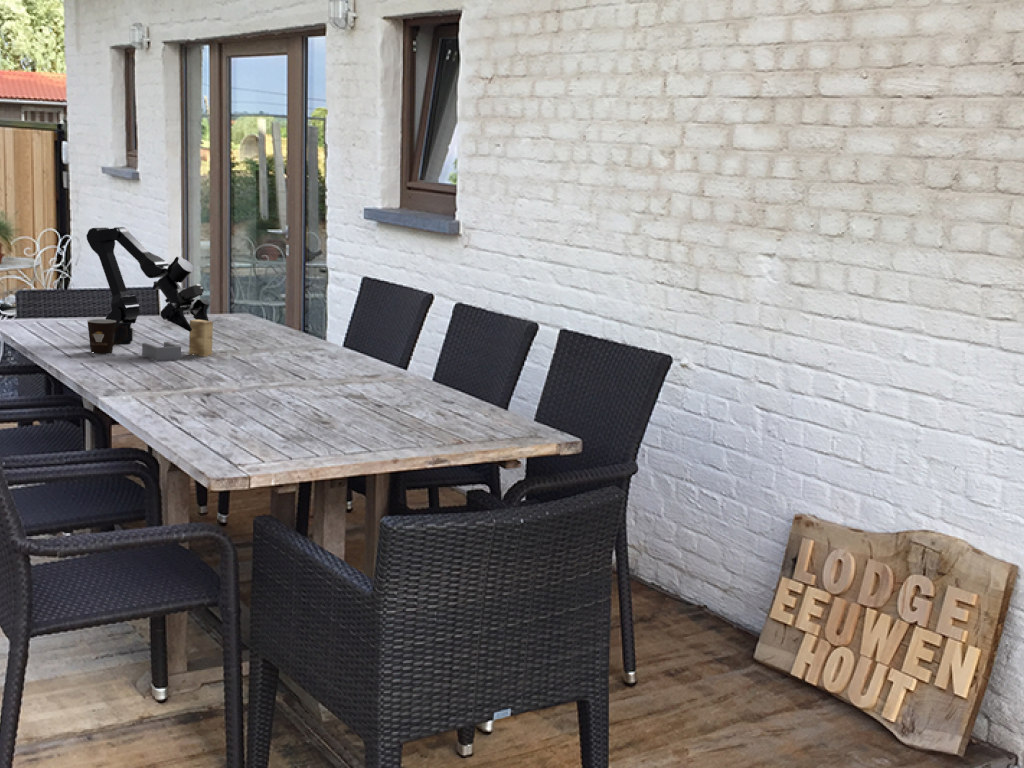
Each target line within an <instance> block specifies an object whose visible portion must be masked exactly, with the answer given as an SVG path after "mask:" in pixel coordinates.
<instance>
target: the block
mask: <svg viewBox="0 0 1024 768" xmlns="http://www.w3.org/2000/svg"><path fill="white" fill-rule="evenodd" d="M213 322H214V321H212V320H209V321H206V320H199V319H197V320H196V319H191V320H189V325H190V326H191V328H192V330H191V331H190V332H189V340H188V341H189V343H188V345H189V346H188V349H189V350H188V355H191V354H194V355H193V356H197V355H200V356H199V357H203V356H205V357H209V356H208V355H210V356H213V337H214V336H213V330H214V323H213Z"/></svg>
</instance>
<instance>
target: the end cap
mask: <svg viewBox="0 0 1024 768" xmlns="http://www.w3.org/2000/svg"><path fill="white" fill-rule="evenodd" d="M141 344H142V345H141V349H142V350H141V356H142V357H144V356H145V357H144V358H147V357H148V358H147V359H149V358H150V359H149V360H152V361H155V362H159V361H160V360H162V361H173V360H174V361H175V360H176V361H177V359H179V360H182V346H180V345H176V344H174V343H172V342H169V341H163V346H162V347H161V346H160V347H159V346H155V345H152V344H150V343H147V342H142V343H141Z"/></svg>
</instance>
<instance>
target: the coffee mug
mask: <svg viewBox="0 0 1024 768" xmlns="http://www.w3.org/2000/svg"><path fill="white" fill-rule="evenodd" d="M118 328H123V329H125V331H126V335H125V336H124V337H123V338H121V339H120V340H118V341H116V342H114V335H115V332H116V330H117V329H118ZM87 329H88V331H87V332H88V338H89V347H90V348H89V349H90V353H91V352H94V353H110V354H113V349H114V348H113V347H114V346H115V345H116V344H119V343H118V342H119V341H121V340H123V339H124V338H125V337H126V336H127V334H128V331H127V328H125V327H124V326H118V327H116V321H114V320H108V319H106V318H96V319H92V318H91V319H88V320H87ZM94 353H93V354H94Z"/></svg>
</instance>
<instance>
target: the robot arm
mask: <svg viewBox="0 0 1024 768" xmlns="http://www.w3.org/2000/svg"><path fill="white" fill-rule="evenodd" d="M85 236H86V240H87V242H88V244H89V247H90V248H91V250H93V252H94V253H96V255H97V256H98V258H99V260H100V265H101V266H102V270H103V272H104V275H105V278H106V281H107V285H108V287H109V290H110V293H111V303H110V308H111V312H110V313H109V314H107V316H106V317H105V319H108V320H114V321H116V327H118V326H124V327H125V328H127V331H128V334H127V336H126V337H125V338H124V339H123V340H121V341H119V342H118V343H117V344H131V343H132V342H133V340H134V328H133V327H132V324H136V322H137V318H138V316H139V314H140V307H141V306H140V305H139V302H138V298H137V296H136V295H134V294H133V295H131V294H130V293H129V292H128V290H127V287H126V285H125V281H124V278H123V275H122V271H121V270H120V267H119V264H118V260H117V256H116V255H115V251H114V250H115V247H116V241H117V243H119V244H120V246H121V247H122V248H123V249H124V250H126V251H127V252H128V253H129V254H130V255H131V256H132V257H133V258H134V259H135V261H137V263H139V268H140V270H141V271H142V272H143V274H144V276H146V277H147V278H148V279H157V278H159V279H158V280H156V281H153V286H152V290H153V291H157V290H160V291H161V292H162V294H163V296H165V300H164V301H165V303H167V304H166V305H165V306H164V307H163V308H162V309H161V310H160V317H161V319H163V321H165V320H166V321H167V322H170V323H172V324H174V325H175V326H178V327H180V328H182V329H184V330H186V331H188V333H190V331H191V330H192V328H191V326H190V322H188V320H187V318H186V316H185V315H184V313H188V312H189V313H190V315H192V316H193V319H194V320H197V319H199V320H206V321H210V320H209V317H208V309H209V308H210V306H211V303H210V301H209V300H208V299H207V298H200V299H195V298H197V297H201V296H203V295H204V291H205V290H204V289H205V288H204V287H203V286H202V285H201V284H200V283H196V284H195V285H194V284H193V285H191V286H189V287H186V288H185V287H184V288H183V287H181V286H180V284H179V283H181V284H182V283H184V281H186V279H187V278H188V277H189V276H190V275H191V273H192V272H194V266H193V264H192V263H191V262H190V261H189V260H186V259H185V258H183V257H182V256H180V255H179V256H178V255H177V256H176V257H175V258H174V259H173V261H172V262H171V263H170V264H169V263H168V261H166V260H165V259H163V258H161V257H160V256H159V255H156V254H154V253H151V252H150V251H149V250H148V249H147V248H146V247H145V246H144V245H143V244H142V243H141V242H140V241H139V240H138V239H137V238H136V237H135V236H134V235H132V234H131V232H129V229H128V228H126V227H125V226H124V227H123V226H121V227H120V226H119V227H118V226H117V227H113V228H109V227H91V228H90V229H88V231H87V234H86V235H85ZM195 300H196V301H195ZM192 303H193V304H192ZM125 335H126V331H125V329H123V328H118V329H117V330H116V332H115V335H114V342H116V341H118V340H120V339H121V338H123V337H124V336H125Z"/></svg>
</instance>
